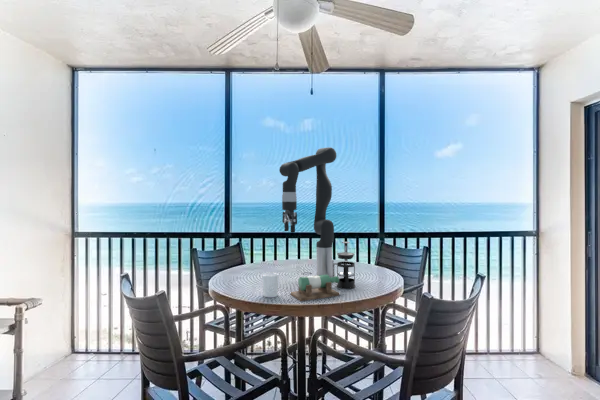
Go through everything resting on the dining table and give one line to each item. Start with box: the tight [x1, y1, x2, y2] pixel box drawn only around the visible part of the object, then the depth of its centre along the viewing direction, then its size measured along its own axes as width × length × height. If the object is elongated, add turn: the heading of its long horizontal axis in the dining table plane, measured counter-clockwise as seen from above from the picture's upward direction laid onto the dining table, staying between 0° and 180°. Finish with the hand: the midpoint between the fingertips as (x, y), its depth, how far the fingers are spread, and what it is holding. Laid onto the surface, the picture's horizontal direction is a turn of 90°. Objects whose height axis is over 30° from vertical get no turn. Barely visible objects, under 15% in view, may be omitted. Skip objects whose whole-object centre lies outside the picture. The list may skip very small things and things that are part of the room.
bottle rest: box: [290, 282, 340, 302], centre depth 155 cm, size 20×11×6 cm, turn 114°
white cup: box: [261, 271, 280, 298], centre depth 155 cm, size 8×8×10 cm
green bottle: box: [297, 274, 340, 291], centre depth 156 cm, size 20×6×6 cm, turn 115°
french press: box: [333, 241, 356, 290], centre depth 170 cm, size 12×9×23 cm
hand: (289, 231), depth 172 cm, fingers open, 8 cm apart
